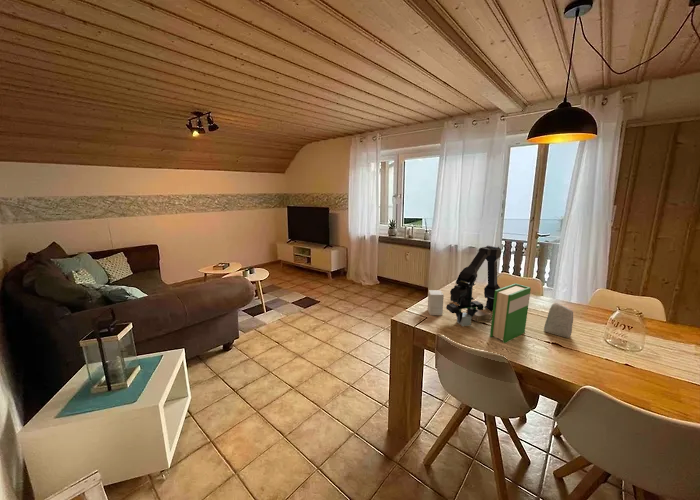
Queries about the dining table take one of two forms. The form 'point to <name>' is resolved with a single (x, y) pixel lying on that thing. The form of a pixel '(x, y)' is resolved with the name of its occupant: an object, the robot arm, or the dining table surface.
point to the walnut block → (481, 315)
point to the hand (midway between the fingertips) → (463, 321)
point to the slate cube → (465, 320)
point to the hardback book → (510, 312)
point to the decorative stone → (559, 321)
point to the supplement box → (435, 302)
